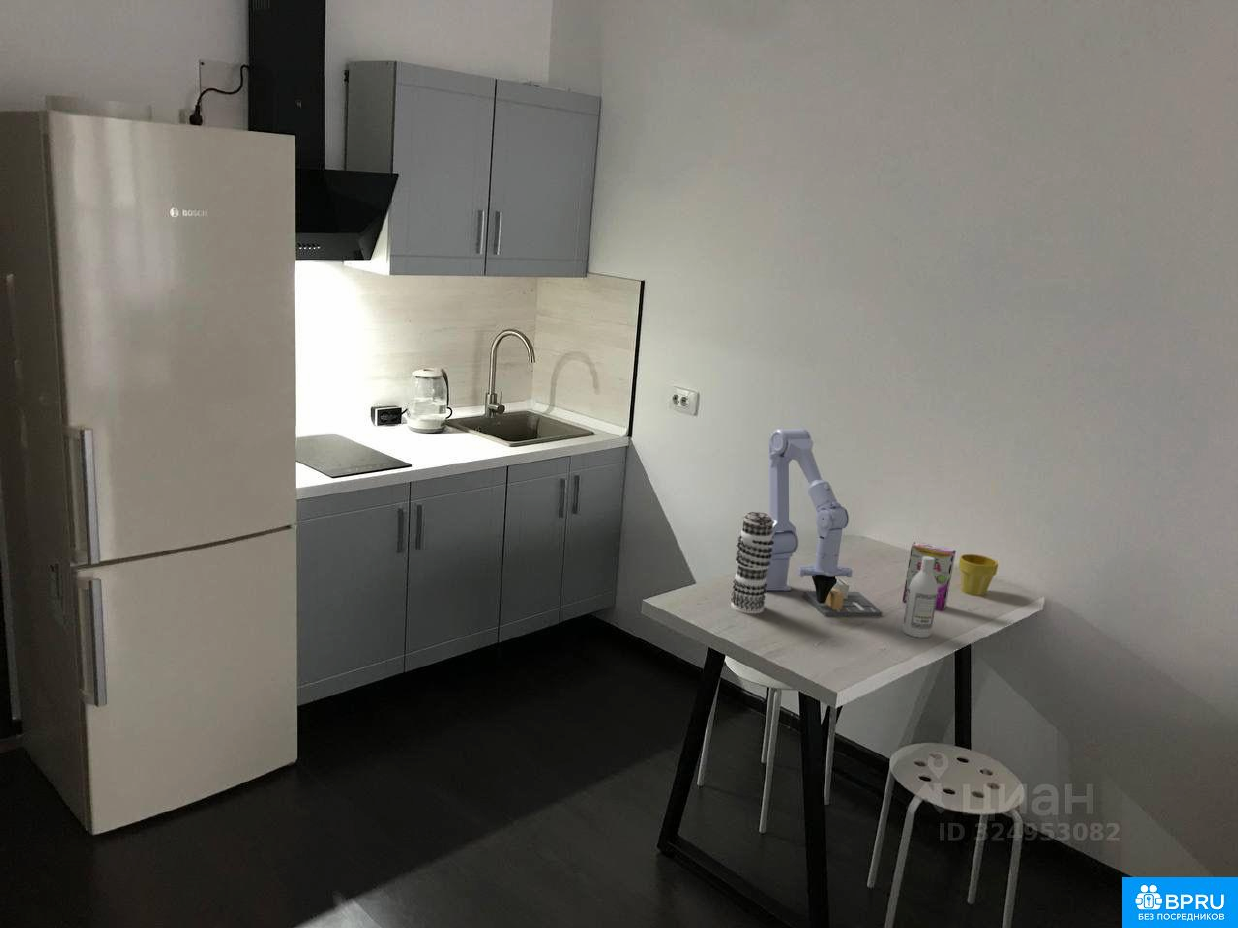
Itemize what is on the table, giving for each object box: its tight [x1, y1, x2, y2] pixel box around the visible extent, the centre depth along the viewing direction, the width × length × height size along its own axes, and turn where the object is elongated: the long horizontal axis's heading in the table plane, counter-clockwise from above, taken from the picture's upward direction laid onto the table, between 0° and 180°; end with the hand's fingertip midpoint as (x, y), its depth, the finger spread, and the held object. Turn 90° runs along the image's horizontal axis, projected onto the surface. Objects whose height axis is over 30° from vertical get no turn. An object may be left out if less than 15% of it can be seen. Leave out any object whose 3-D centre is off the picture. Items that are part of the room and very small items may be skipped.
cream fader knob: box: [833, 578, 850, 599], centre depth 278 cm, size 2×4×4 cm, turn 12°
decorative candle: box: [730, 511, 774, 614], centre depth 265 cm, size 9×9×25 cm
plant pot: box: [958, 553, 999, 597], centre depth 295 cm, size 10×10×10 cm
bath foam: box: [902, 556, 938, 639], centre depth 258 cm, size 7×7×20 cm
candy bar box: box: [902, 541, 956, 612], centre depth 280 cm, size 11×5×16 cm, turn 65°
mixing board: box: [802, 590, 883, 618], centre depth 275 cm, size 16×15×1 cm
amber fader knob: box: [826, 588, 844, 609], centre depth 270 cm, size 2×4×4 cm, turn 12°
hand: (820, 602), depth 269 cm, fingers closed
